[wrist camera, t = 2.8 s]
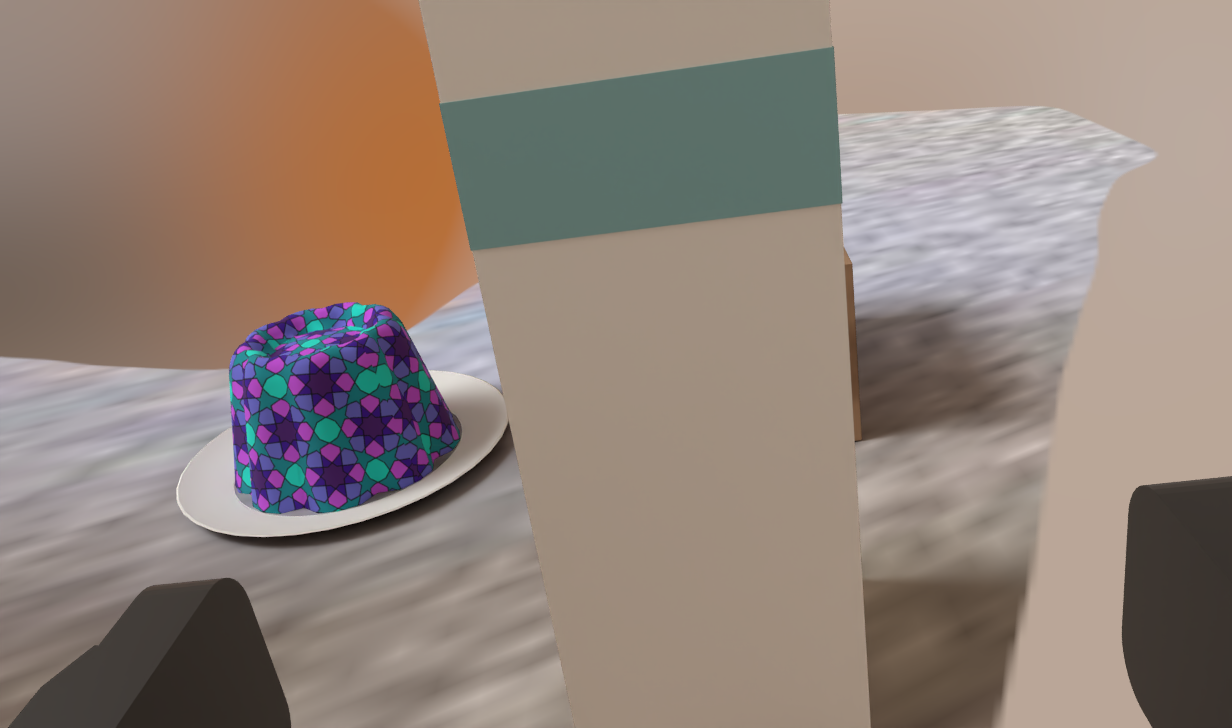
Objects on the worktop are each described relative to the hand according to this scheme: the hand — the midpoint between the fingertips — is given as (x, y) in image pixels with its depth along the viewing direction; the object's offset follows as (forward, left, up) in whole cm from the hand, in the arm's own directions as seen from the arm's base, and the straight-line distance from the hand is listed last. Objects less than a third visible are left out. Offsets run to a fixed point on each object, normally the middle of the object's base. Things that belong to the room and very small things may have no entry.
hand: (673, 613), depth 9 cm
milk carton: (0, +11, -11) cm, 16 cm away
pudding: (-13, +24, -11) cm, 30 cm away
